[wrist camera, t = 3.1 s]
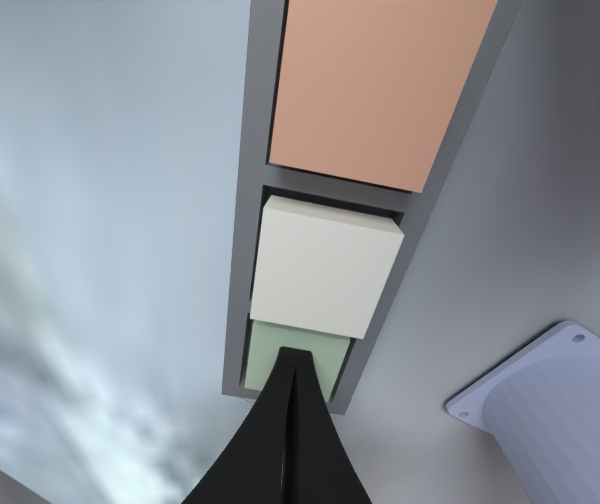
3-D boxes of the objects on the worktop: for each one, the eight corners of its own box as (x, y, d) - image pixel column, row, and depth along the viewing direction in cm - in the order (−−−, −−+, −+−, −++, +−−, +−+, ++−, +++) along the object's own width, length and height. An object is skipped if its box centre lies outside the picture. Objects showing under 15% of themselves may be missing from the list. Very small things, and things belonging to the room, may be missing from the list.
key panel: (339, 380, 15) (342, 418, 13) (233, 361, 15) (221, 397, 13) (482, 1, 8) (539, -41, 6) (273, -45, 7) (258, -106, 5)
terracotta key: (404, 181, 8) (421, 193, 7) (276, 156, 8) (268, 162, 7) (465, 15, 6) (503, -12, 5) (300, -22, 6) (296, -59, 5)
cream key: (357, 313, 10) (363, 339, 9) (257, 294, 10) (249, 318, 9) (391, 218, 9) (404, 235, 7) (271, 195, 8) (263, 207, 7)
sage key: (326, 376, 14) (327, 402, 12) (251, 363, 13) (244, 387, 12) (346, 318, 12) (350, 341, 11) (259, 302, 12) (252, 323, 10)
